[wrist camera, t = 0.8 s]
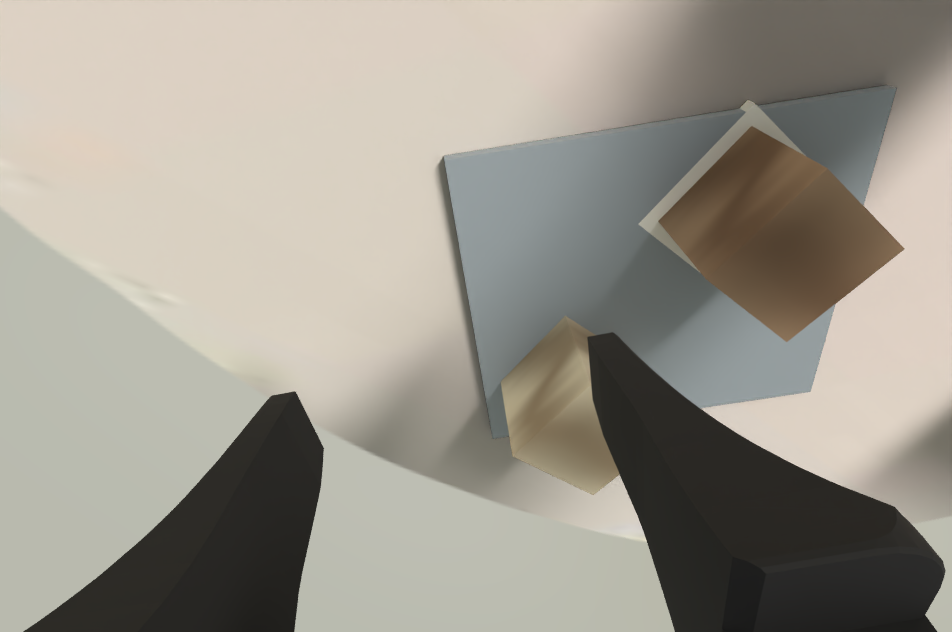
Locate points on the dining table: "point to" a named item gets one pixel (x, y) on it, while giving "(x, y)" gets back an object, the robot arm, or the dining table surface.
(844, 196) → the walnut block
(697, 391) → the light blue flat plate
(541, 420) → the birch block
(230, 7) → the dining table surface
